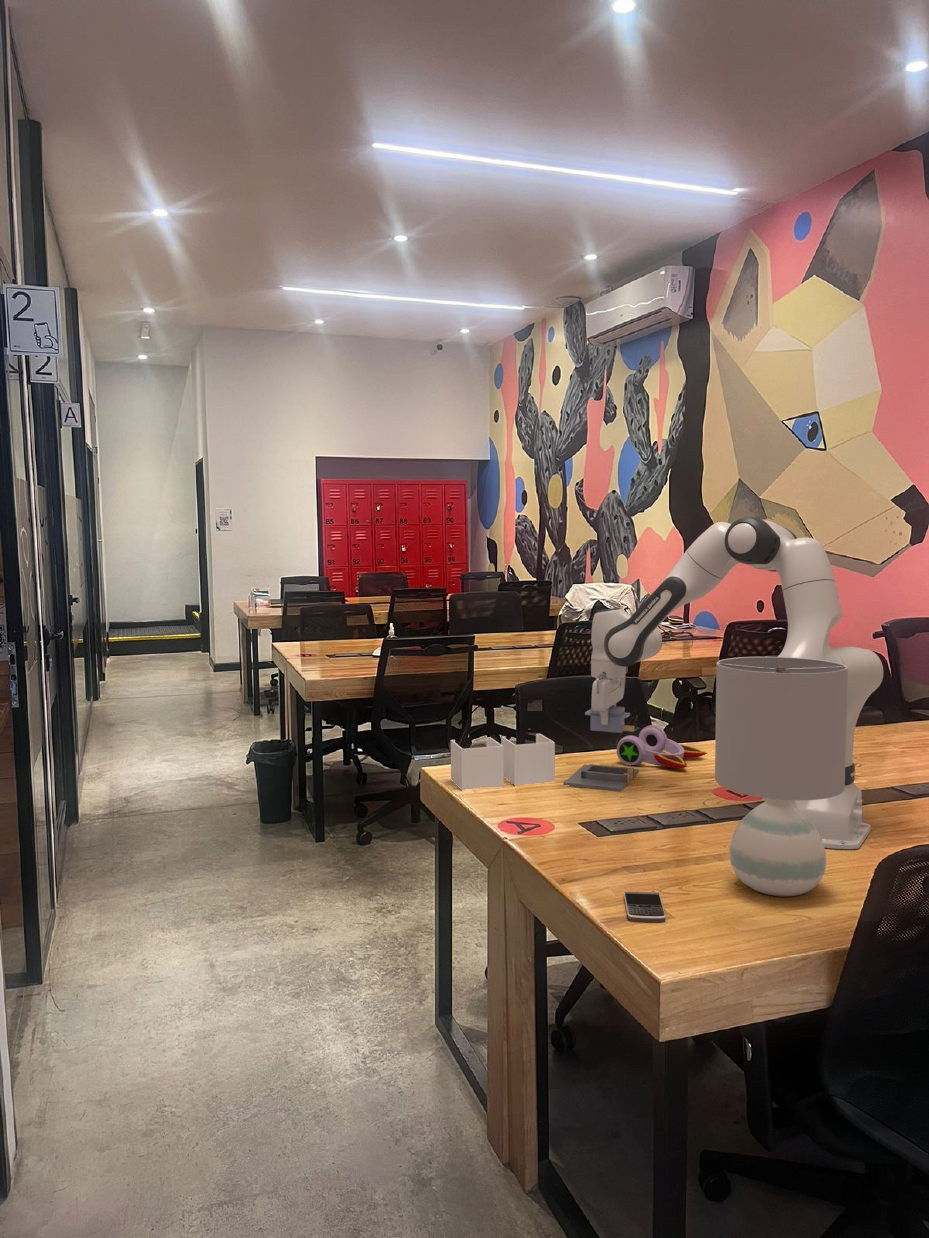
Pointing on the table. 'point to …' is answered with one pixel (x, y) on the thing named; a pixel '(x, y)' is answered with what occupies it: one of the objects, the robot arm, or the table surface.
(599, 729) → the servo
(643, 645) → the robot arm
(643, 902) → the cell phone
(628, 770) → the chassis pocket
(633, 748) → the headphones
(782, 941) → the table surface
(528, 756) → the double compartment bin
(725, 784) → the lamp
